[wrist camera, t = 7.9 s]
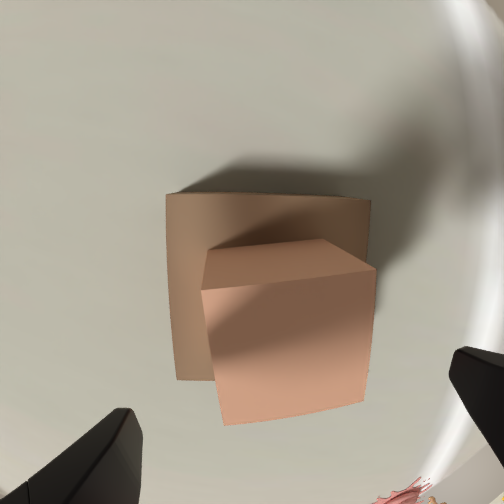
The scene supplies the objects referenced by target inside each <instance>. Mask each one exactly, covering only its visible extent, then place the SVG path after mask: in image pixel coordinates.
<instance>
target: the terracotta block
mask: <svg viewBox="0 0 504 504" xmlns="http://www.w3.org/2000/svg"><path fill="white" fill-rule="evenodd" d="M376 273H377V269H375V268H374V267H372V266H370V265H368V264H367V263H365V262H363V261H361V260H360V259H358V258H356V257H354V256H353V255H351V254H349V253H347V252H346V251H344V250H342V249H340V248H339V247H337V246H335V245H333V244H331V243H330V242H328V241H326V240H324V239H314V240H304V241H293V242H283V243H273V244H263V245H252V246H242V247H232V248H222V249H213V250H207V256H206V262H205V268H204V274H203V280H202V286H201V295H202V302H203V309H204V315H205V322H206V328H207V335H208V341H209V347H210V353H211V359H212V365H213V371H214V376H215V382H216V387H217V393H218V398H219V403H220V408H221V413H222V418H223V423H224V426H226V425H236V424H246V423H254V422H262V421H269V420H276V419H282V418H288V417H294V416H300V415H305V414H310V413H315V412H320V411H325V410H329V409H334V408H338V407H342V406H346V405H350V404H354V403H358V402H362V401H364V395H365V389H366V382H367V376H368V368H369V360H370V352H371V343H372V333H373V322H374V309H375V294H376Z"/></svg>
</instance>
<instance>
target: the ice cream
mask: <svg viewBox="0 0 504 504" xmlns="http://www.w3.org/2000/svg"><path fill="white" fill-rule="evenodd" d="M420 478H421V477H419V478H418V479H417V480H416V481H415V482H414V483H413V484H412V485H411V486H410V487H409V488H407V489H406V490H404V491H401V492H394V491H392V492H391V494H392V496H391V497H390V498H388V499H383V498H377V500H378V502H376V503H374V504H419V503H421V502H423V501H421V502H418V503H415V502H416V501H417V499H419V498H420V497H419V498H418V496H419V494H421V493H423V492H424V491H426V490H427V489H429V488H430V487H431V486H432V485H431V486H429V487H428V488H427V489H425V490H424V491H422V492H421V491H420V490H421V489H422V488H424V487H426V486H427V485H429V484H430V483H429V484H427V485H425V486H423V487H421V488H419V487H420V486H421V485H419V486H417V487H415V488H413V485H414V484H415V483H417V482H418V481H419V480H420ZM429 479H430V478H429ZM429 479H428V480H429ZM425 481H426V480H425ZM425 481H424V482H425ZM379 497H380V496H379ZM428 499H429V500H431V501H429V502H428V504H430V503H433V504H437V503H436V501H435V498H434V497H429V498H428ZM441 504H446V503H445V502H444V503H441Z"/></svg>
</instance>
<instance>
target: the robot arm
mask: <svg viewBox="0 0 504 504" xmlns="http://www.w3.org/2000/svg"><path fill="white" fill-rule="evenodd" d="M449 379H450V381H451V383H452V384H453V386H454V388H455V390H456V391H457V393H458V395H459V397H460V398H461V400H462V402H463V404H464V406H465V408H466V409H467V411H468V413H469V415H470V416H471V418H472V419H473V421H474V422H475V424H476V425H477V427H478V428H479V430H480V431H481V433H482V434H483V436H484V437H485V439H486V440H487V442H488V443H489V445H490V446H491V448H492V450H493V451H494V453H495V455H496V456H497V458H498V459H499V461H500V463H501V464H502V466H503V467H504V354H499V353H495V352H490V351H486V350H482V349H477V348H473V347H468V346H464V347H462V348H459V349H457V350H456V351H455V352H454V354H453V358H452V362H451V366H450V370H449ZM142 445H143V434H142V430H141V427H140V425H139V423H138V420H137V418H136V416H135V413H134V411H133V410H132V409H131V408H116V409H114V410H113V411H112V412H111V413H110V414H108V415H107V416H106V417H105V418H104V419H102V420H101V421H100V422H99V423H98V424H96V425H95V426H94V427H93V428H92V429H90V430H89V431H88V432H87V433H85V434H84V435H83V436H82V437H81V438H79V439H78V440H77V441H76V442H74V443H73V444H72V445H71V446H70V447H68V448H67V449H66V450H65V451H63V452H62V453H61V454H60V455H58V456H57V457H56V458H55V459H53V460H52V461H51V462H50V463H48V464H47V465H46V466H45V467H43V468H42V469H41V470H40V471H38V472H37V473H36V474H34V475H33V476H32V477H31V478H29V479H28V482H27V481H25V482H24V483H23V484H21V485H20V486H19V487H18V488H16V489H15V490H13V491H12V492H11V493H9V494H8V495H6V496H5V497H4V498H2V499H0V504H138V503H139V496H140V489H141V469H142Z"/></svg>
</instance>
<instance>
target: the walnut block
mask: <svg viewBox="0 0 504 504" xmlns="http://www.w3.org/2000/svg"><path fill="white" fill-rule="evenodd" d="M370 209H371V201H370V200H364V199H357V198H350V197H342V196H327V195H309V194H286V193H253V192H176V193H171V194H166V245H167V271H168V289H169V304H170V318H171V330H172V341H173V351H174V360H175V369H176V377H177V380H194V381H215V376H214V371H213V365H212V359H211V353H210V347H209V341H208V335H207V328H206V322H205V315H204V309H203V302H202V295H201V286H202V280H203V274H204V268H205V262H206V256H207V250H213V249H222V248H232V247H242V246H252V245H263V244H273V243H283V242H293V241H304V240H314V239H324V240H326V241H328V242H330V243H331V244H333V245H335V246H337V247H339V248H340V249H342V250H344V251H346V252H347V253H349V254H351V255H353V256H354V257H356V258H358V259H360V260H361V261H363V262H365V263H366V256H367V246H368V236H369V223H370Z"/></svg>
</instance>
